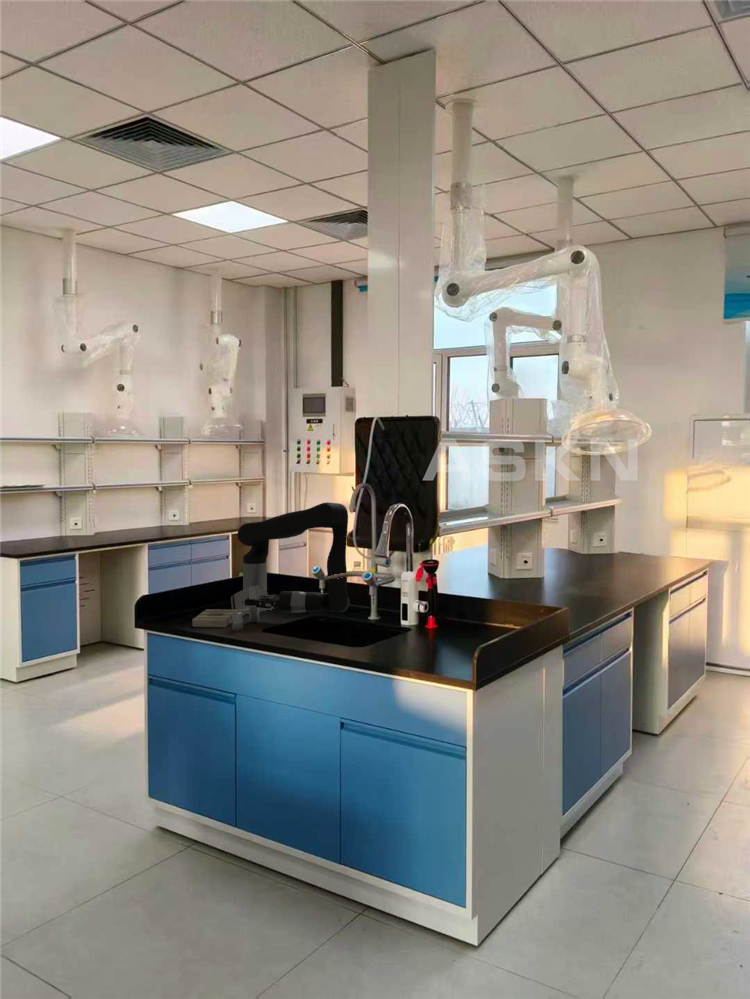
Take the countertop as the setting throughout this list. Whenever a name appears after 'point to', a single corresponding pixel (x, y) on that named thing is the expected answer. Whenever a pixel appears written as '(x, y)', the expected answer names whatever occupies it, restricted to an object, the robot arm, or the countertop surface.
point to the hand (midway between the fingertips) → (246, 601)
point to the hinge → (239, 601)
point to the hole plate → (213, 618)
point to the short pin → (237, 621)
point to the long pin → (253, 609)
